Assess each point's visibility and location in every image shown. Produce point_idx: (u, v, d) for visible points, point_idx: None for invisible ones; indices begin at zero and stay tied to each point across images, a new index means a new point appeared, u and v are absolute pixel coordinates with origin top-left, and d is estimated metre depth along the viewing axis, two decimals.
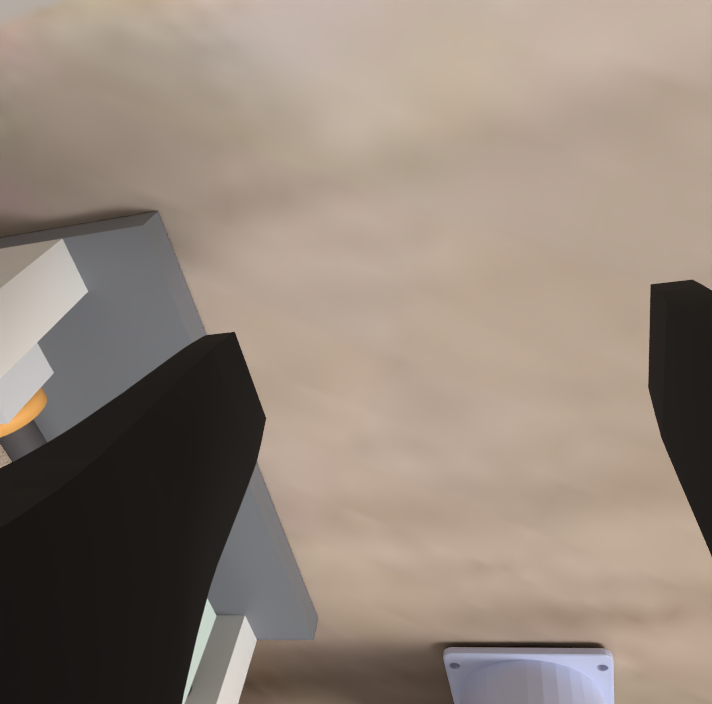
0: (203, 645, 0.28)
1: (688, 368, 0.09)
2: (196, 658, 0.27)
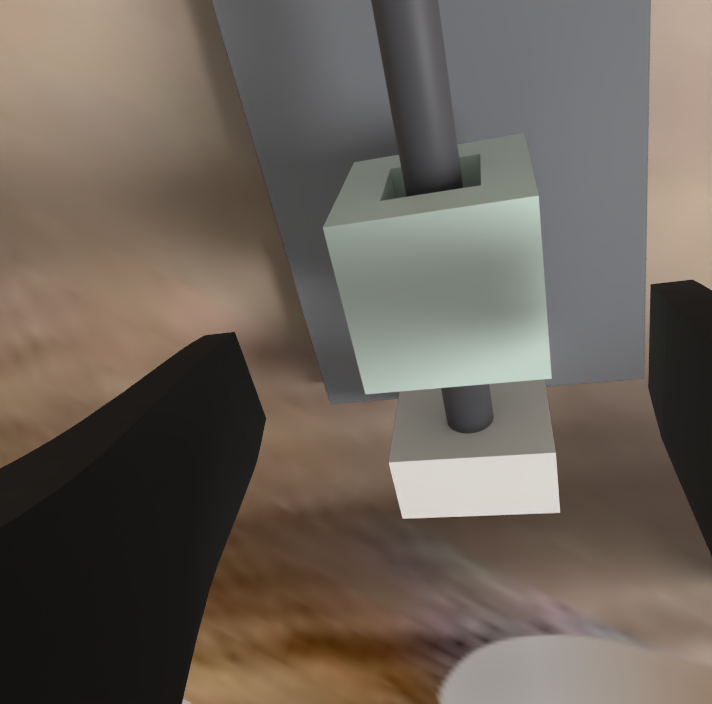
0: None
1: (687, 368, 0.09)
2: None
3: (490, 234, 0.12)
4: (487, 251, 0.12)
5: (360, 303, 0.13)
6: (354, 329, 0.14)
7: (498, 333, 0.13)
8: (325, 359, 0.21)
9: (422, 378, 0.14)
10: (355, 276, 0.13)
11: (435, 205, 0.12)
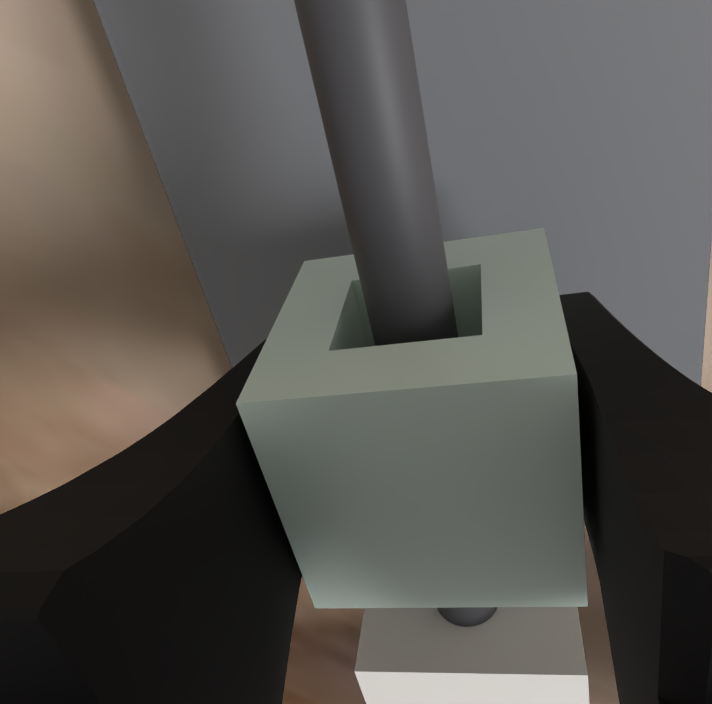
0: None
1: None
2: None
3: (497, 424, 0.08)
4: (492, 445, 0.08)
5: (300, 502, 0.09)
6: (294, 533, 0.09)
7: (509, 549, 0.09)
8: None
9: (396, 595, 0.10)
10: (290, 468, 0.09)
11: (410, 373, 0.08)
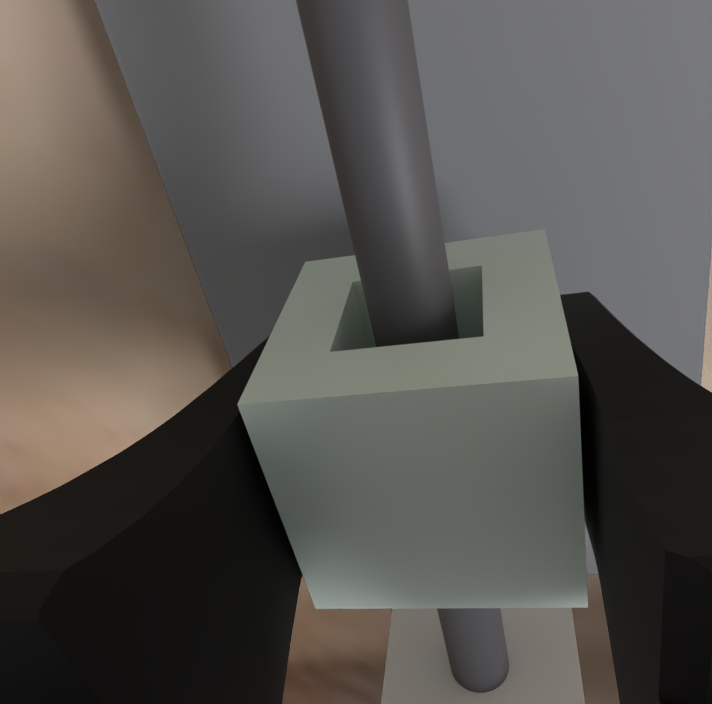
0: None
1: None
2: None
3: (499, 425, 0.08)
4: (494, 447, 0.08)
5: (301, 503, 0.09)
6: (294, 533, 0.09)
7: (509, 550, 0.09)
8: None
9: (397, 596, 0.10)
10: (291, 469, 0.09)
11: (412, 375, 0.08)
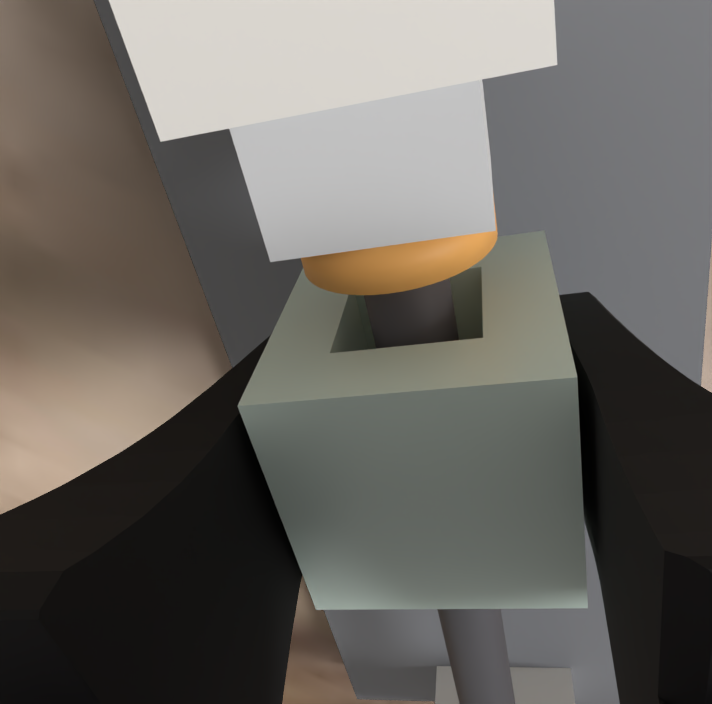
0: None
1: None
2: None
3: (499, 426, 0.08)
4: (493, 448, 0.08)
5: (301, 504, 0.09)
6: (295, 535, 0.09)
7: (509, 550, 0.09)
8: (354, 668, 0.21)
9: (397, 597, 0.10)
10: (292, 470, 0.09)
11: (412, 376, 0.08)
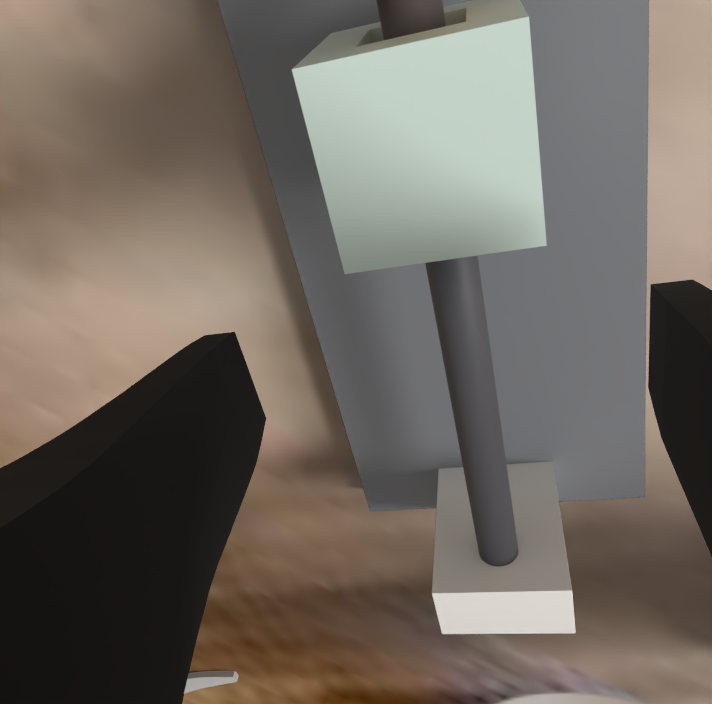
0: None
1: (687, 367, 0.09)
2: None
3: (476, 69, 0.11)
4: (473, 90, 0.11)
5: (336, 162, 0.12)
6: (330, 195, 0.13)
7: (487, 192, 0.12)
8: (367, 476, 0.25)
9: (406, 251, 0.13)
10: (329, 128, 0.12)
11: (415, 39, 0.11)
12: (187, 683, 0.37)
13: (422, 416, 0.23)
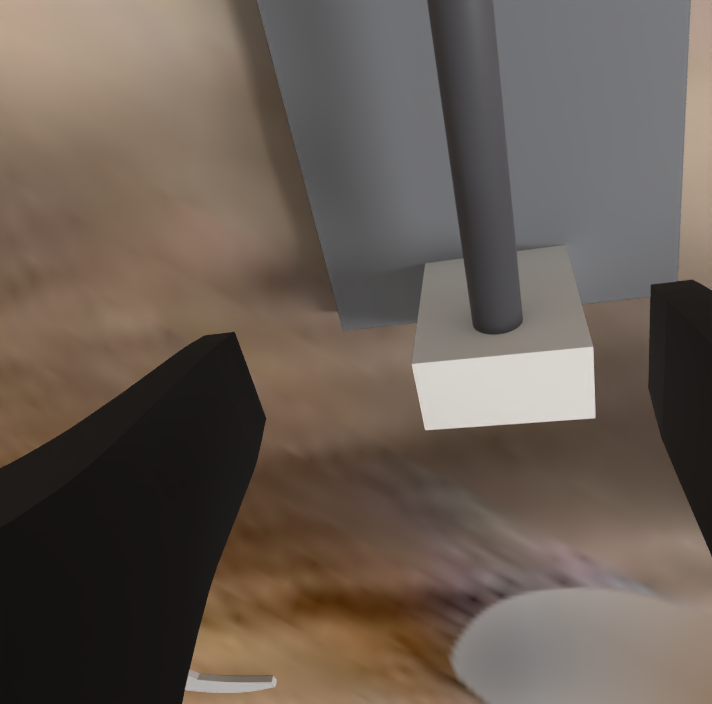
0: None
1: (688, 367, 0.09)
2: None
3: None
4: None
5: None
6: None
7: None
8: (338, 279, 0.20)
9: None
10: None
11: None
12: None
13: (405, 184, 0.18)
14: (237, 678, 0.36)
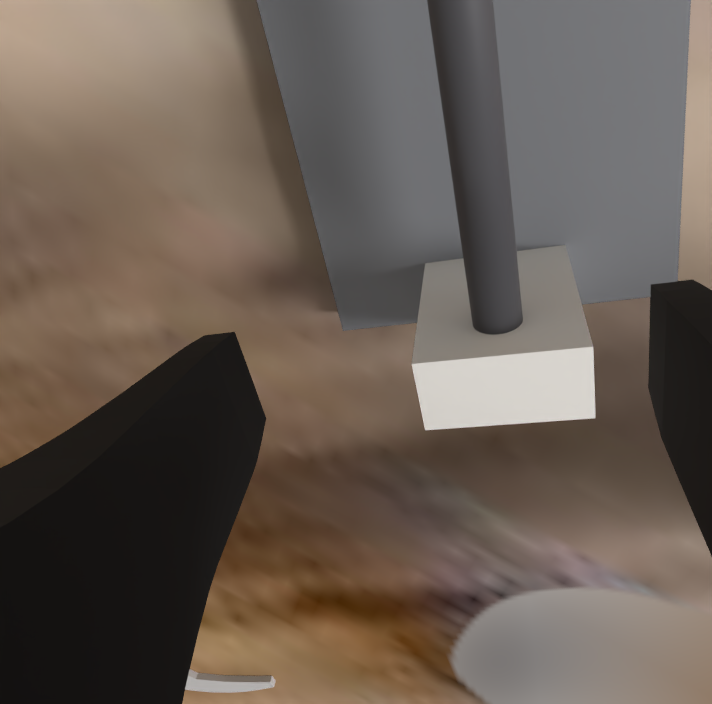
0: None
1: (688, 367, 0.09)
2: None
3: None
4: None
5: None
6: None
7: None
8: (338, 279, 0.20)
9: None
10: None
11: None
12: None
13: (405, 184, 0.18)
14: (236, 678, 0.36)
